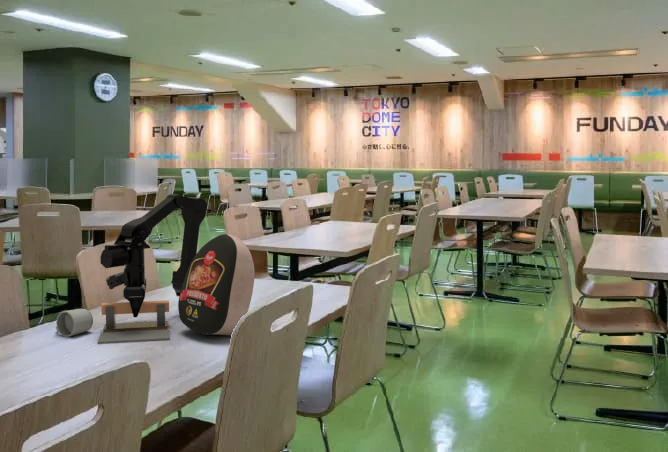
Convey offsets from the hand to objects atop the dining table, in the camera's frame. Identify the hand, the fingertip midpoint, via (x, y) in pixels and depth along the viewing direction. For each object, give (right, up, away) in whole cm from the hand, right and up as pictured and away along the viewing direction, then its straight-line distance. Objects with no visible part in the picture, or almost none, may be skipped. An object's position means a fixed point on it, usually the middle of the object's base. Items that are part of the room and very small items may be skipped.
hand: (136, 313), depth 213 cm
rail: (0, 0, 0) cm, 0 cm away
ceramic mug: (-17, -5, -6) cm, 19 cm away
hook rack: (0, -5, 0) cm, 4 cm away
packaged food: (+26, -6, -4) cm, 27 cm away
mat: (+3, -6, -10) cm, 12 cm away
